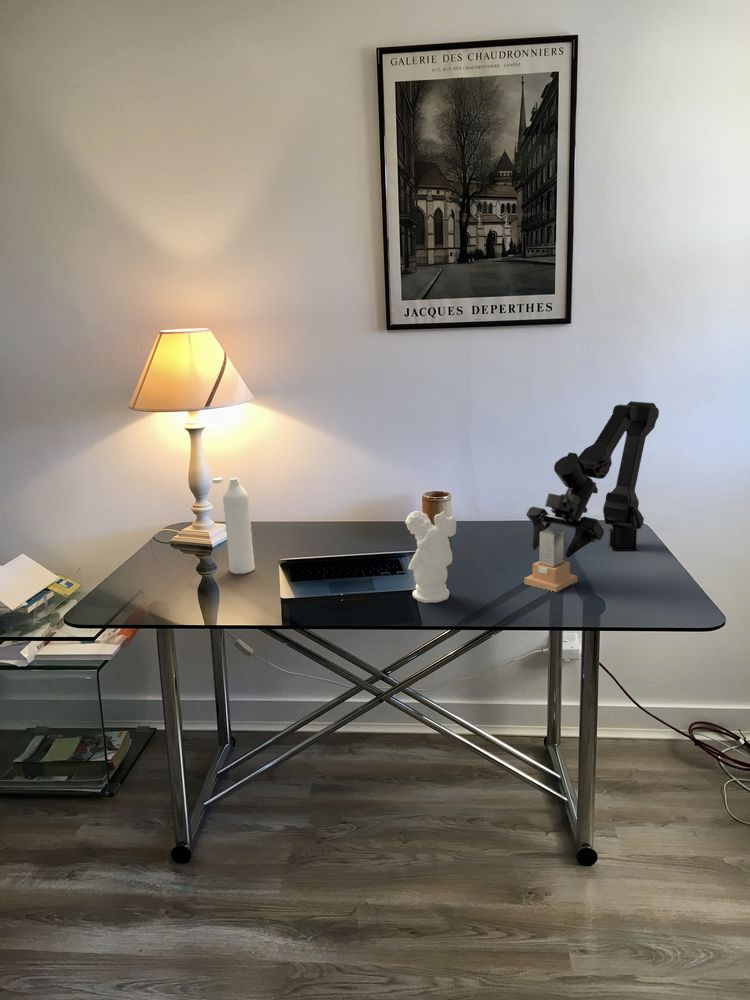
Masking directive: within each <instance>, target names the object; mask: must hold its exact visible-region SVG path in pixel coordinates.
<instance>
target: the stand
mask: <svg viewBox="0 0 750 1000" xmlns="http://www.w3.org/2000/svg"><path fill="white" fill-rule="evenodd" d="M570 569H571V562H569V561H565V560H563V564H562V565H560V566H558V567H555V568H551V567H548V566H544V565H540V564H539V560H538V561H536V562H533V563H532V574H529V575H527V576H526V577H524V582H523V583H524V584H525V585H528V586H531V587H533V588H537V587H538V588H539V589H541V588H542V590H545V589H547V590H546V591H548V590H550V591H549V592H552V591H554V592H553V593H555V592H557V591H559V590H561V589H563V588H565V587H567V586H569V585H571V584H572V585H574V584H576V583H578V578H579V577H578V575H576V574H575V575H574V574H572V573H571V572H570V571H571V570H570ZM575 582H576V583H575ZM573 583H574V584H573ZM572 585H571V586H572ZM569 587H570V586H569ZM567 588H568V587H567ZM565 589H566V588H565ZM563 590H564V589H563ZM561 591H562V590H561ZM559 592H560V591H559ZM557 593H558V592H557Z"/></svg>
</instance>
